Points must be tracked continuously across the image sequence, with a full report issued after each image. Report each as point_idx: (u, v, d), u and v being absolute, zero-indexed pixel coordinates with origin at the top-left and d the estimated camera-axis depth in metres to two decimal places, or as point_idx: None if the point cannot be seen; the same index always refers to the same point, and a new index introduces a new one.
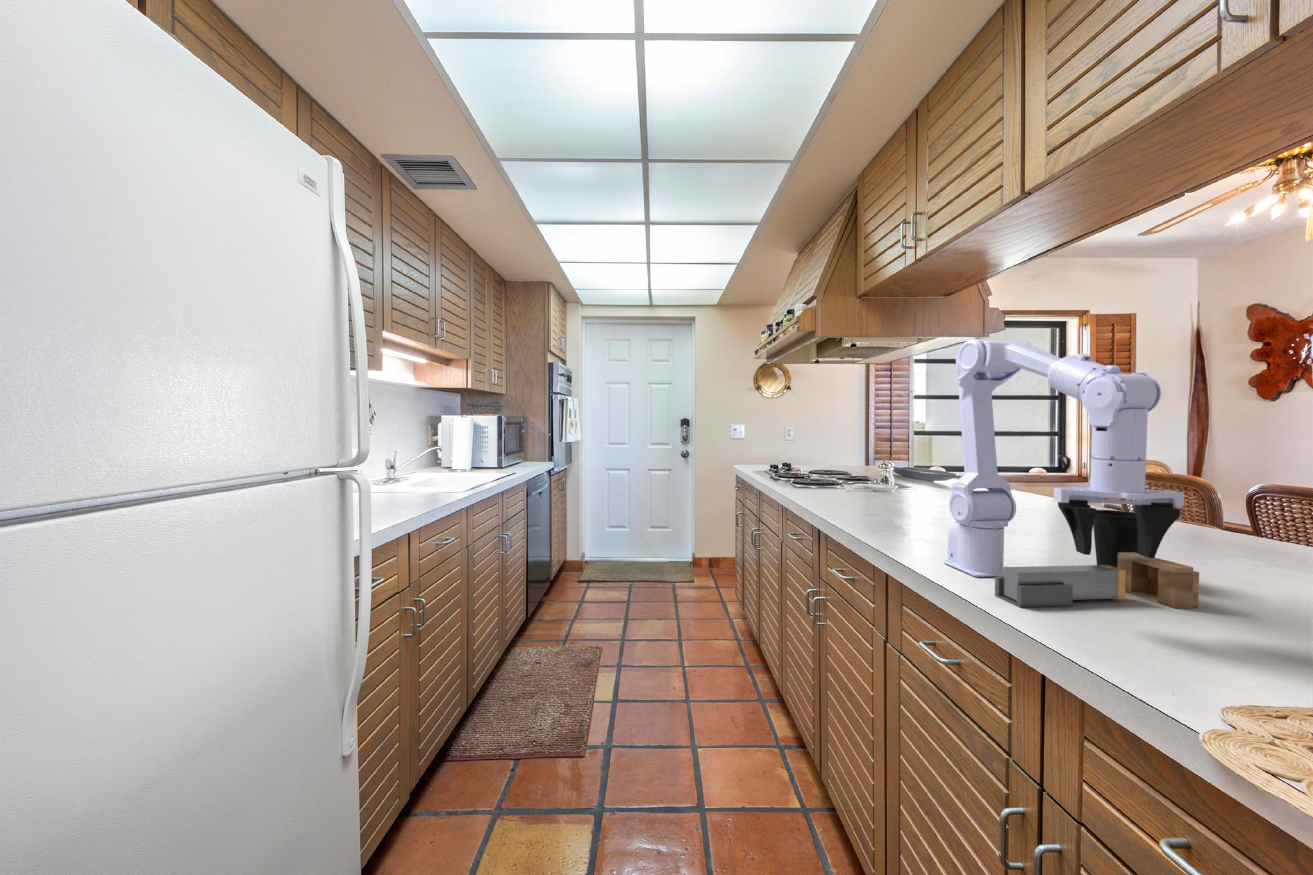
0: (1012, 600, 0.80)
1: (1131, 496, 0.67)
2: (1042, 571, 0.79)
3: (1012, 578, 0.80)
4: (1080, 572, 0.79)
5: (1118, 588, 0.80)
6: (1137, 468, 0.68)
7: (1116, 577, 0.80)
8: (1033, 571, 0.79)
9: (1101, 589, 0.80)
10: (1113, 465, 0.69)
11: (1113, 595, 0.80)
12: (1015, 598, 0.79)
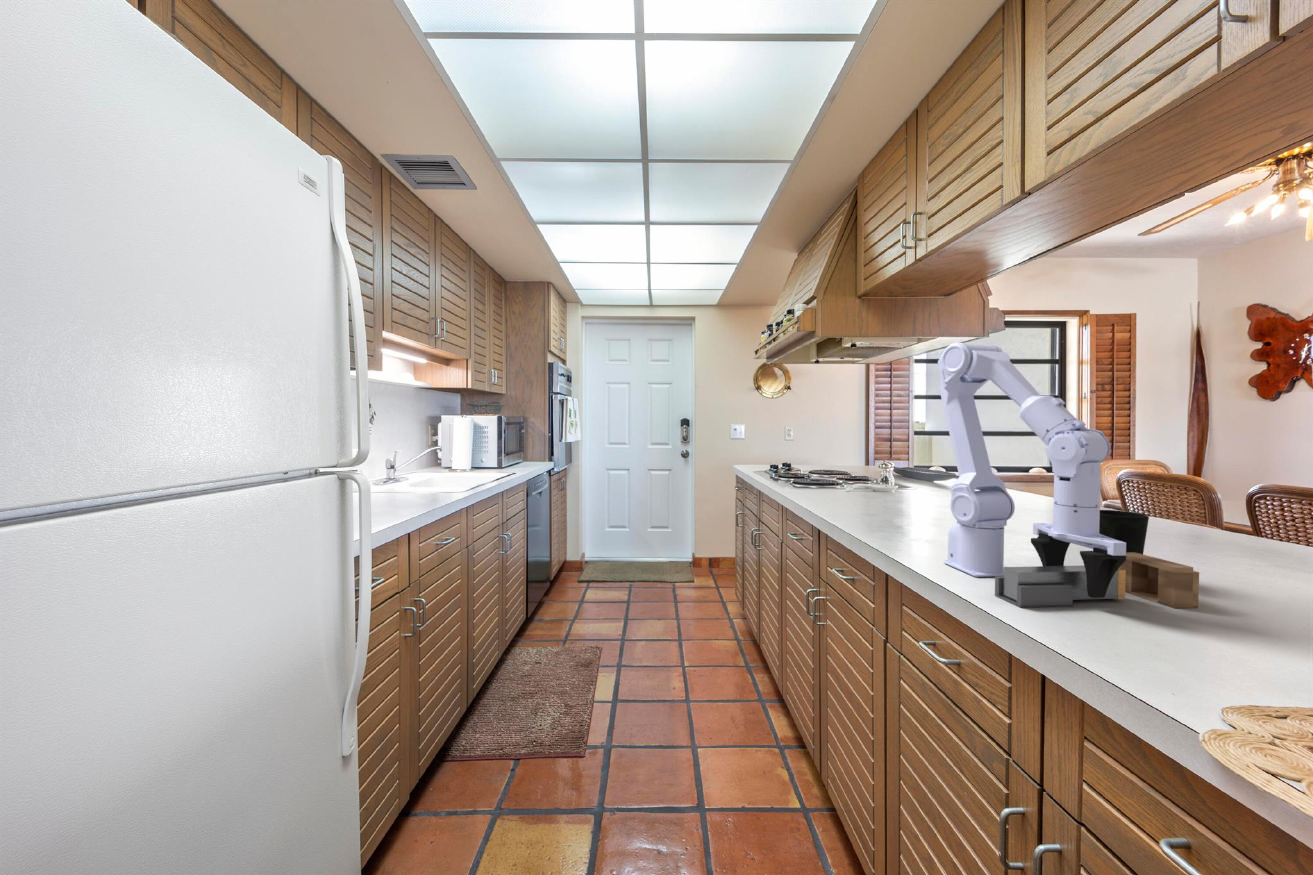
0: (1012, 600, 0.80)
1: (1049, 533, 0.81)
2: (1042, 571, 0.79)
3: (1012, 578, 0.80)
4: (1080, 572, 0.79)
5: (1118, 588, 0.80)
6: (1064, 512, 0.80)
7: (1116, 577, 0.80)
8: (1033, 571, 0.79)
9: None
10: (1053, 507, 0.82)
11: (1113, 595, 0.80)
12: (1015, 598, 0.79)
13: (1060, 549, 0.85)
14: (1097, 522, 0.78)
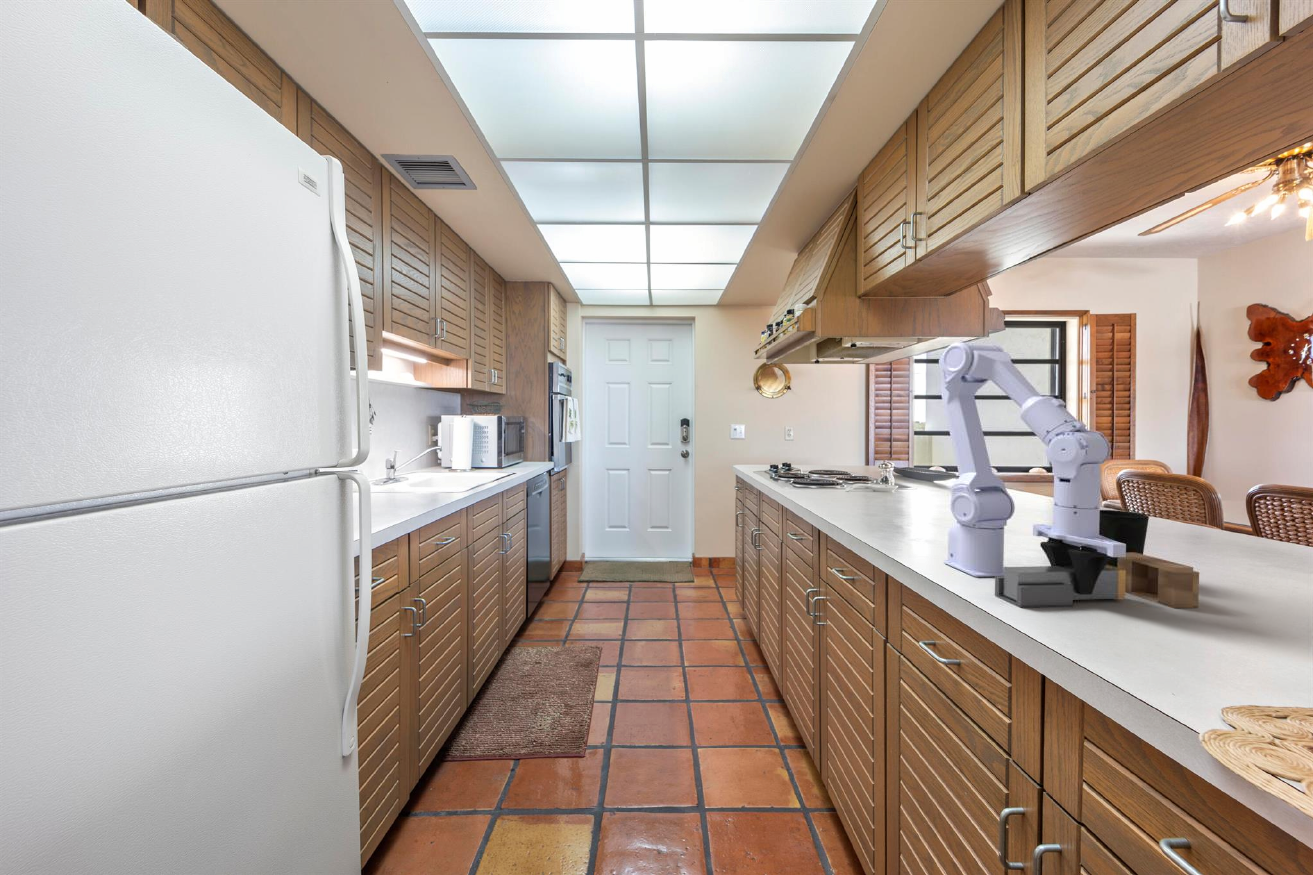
0: (1012, 600, 0.80)
1: (1049, 534, 0.81)
2: (1042, 571, 0.79)
3: (1012, 578, 0.80)
4: None
5: (1118, 588, 0.80)
6: (1064, 513, 0.80)
7: (1116, 577, 0.80)
8: (1033, 571, 0.79)
9: (1101, 589, 0.80)
10: (1053, 508, 0.82)
11: (1113, 595, 0.80)
12: (1015, 598, 0.79)
13: None
14: (1097, 523, 0.78)
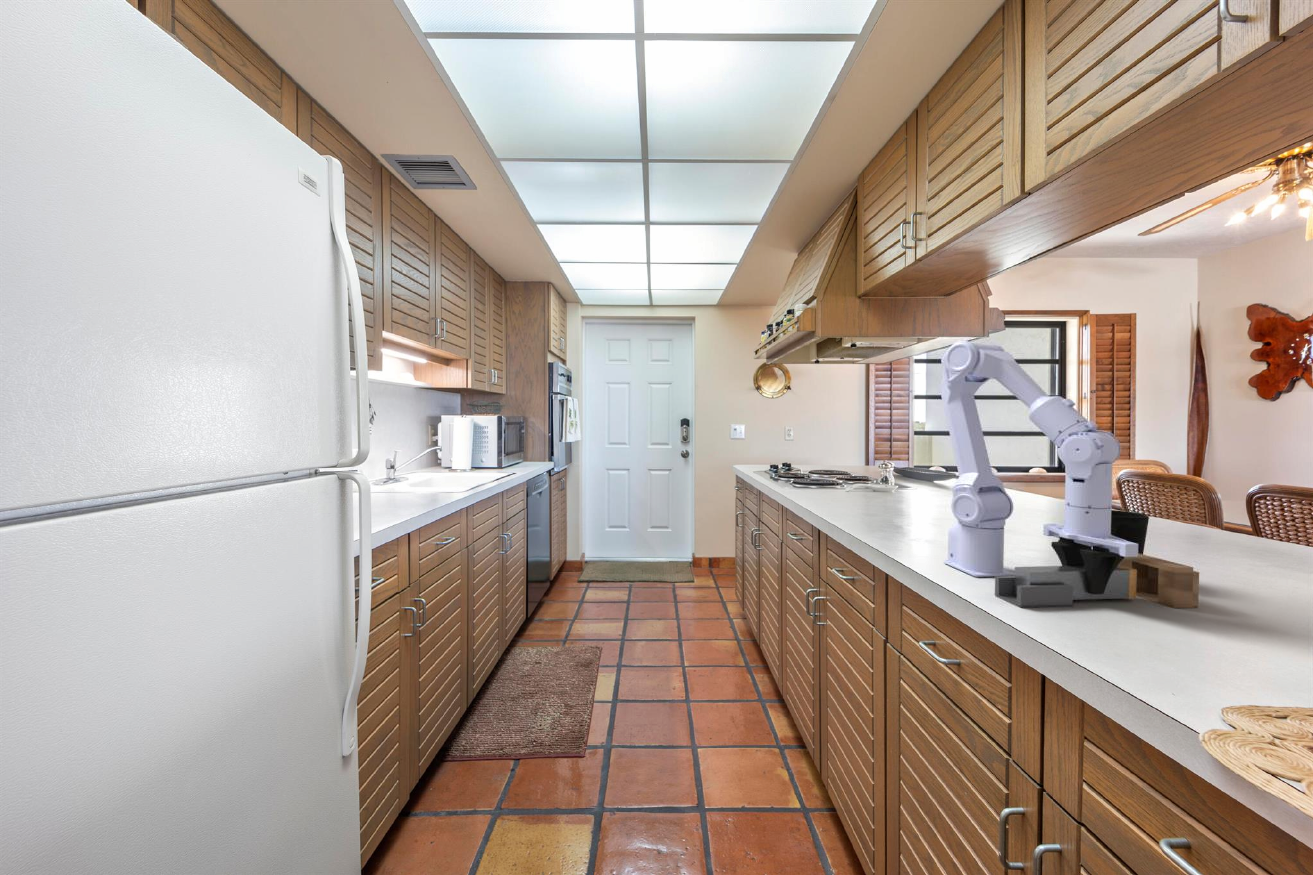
0: (1012, 600, 0.80)
1: (1060, 534, 0.81)
2: (1053, 571, 0.80)
3: (1023, 577, 0.80)
4: None
5: (1129, 588, 0.80)
6: (1075, 513, 0.80)
7: (1127, 577, 0.80)
8: (1044, 571, 0.79)
9: (1112, 589, 0.80)
10: None
11: (1124, 595, 0.80)
12: None
13: None
14: (1109, 523, 0.78)
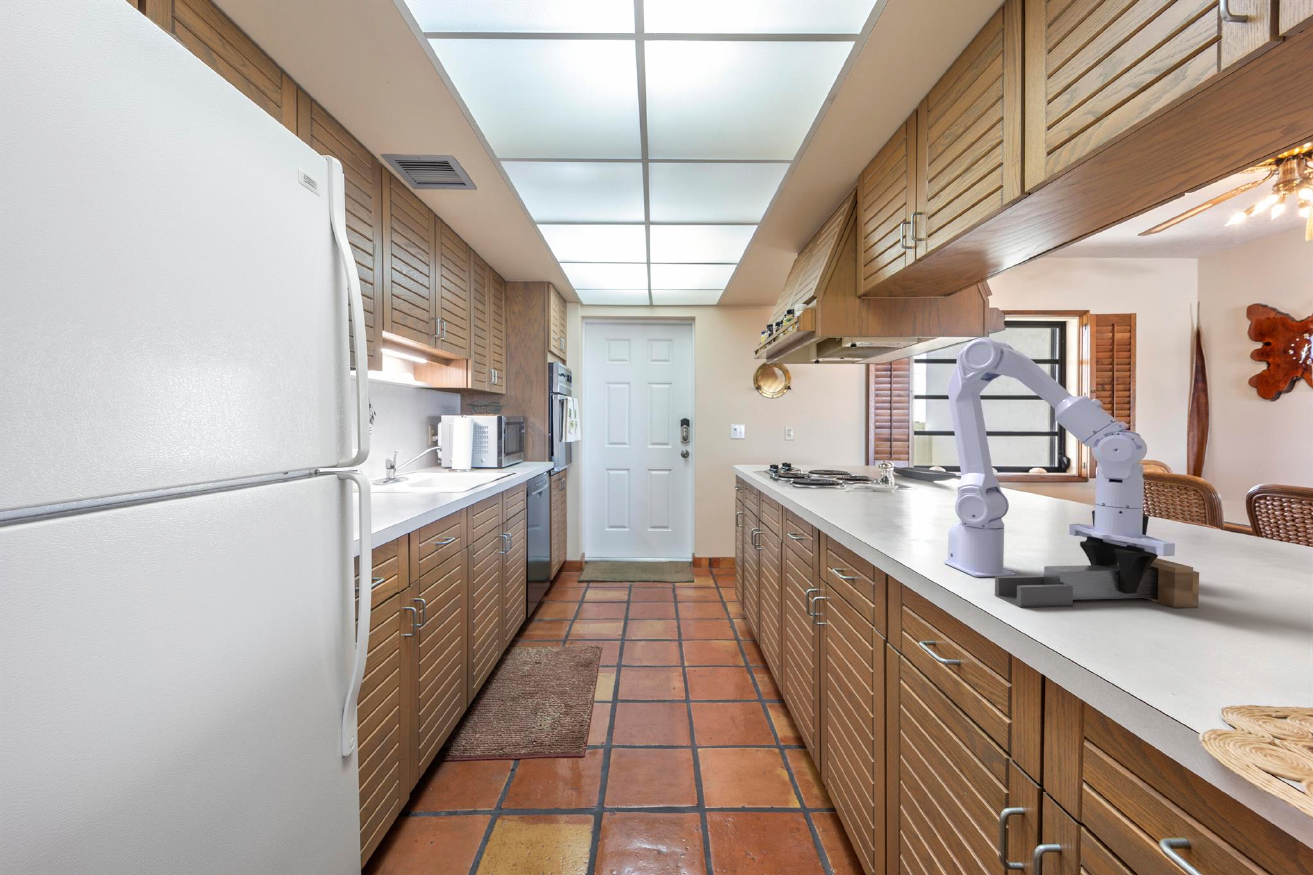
0: (1012, 600, 0.80)
1: (1093, 534, 0.81)
2: (1083, 570, 0.80)
3: (1054, 577, 0.80)
4: None
5: None
6: (1108, 513, 0.80)
7: (1157, 576, 0.80)
8: (1075, 570, 0.80)
9: (1141, 588, 0.80)
10: (1095, 508, 0.83)
11: (1154, 594, 0.80)
12: None
13: (1110, 552, 0.83)
14: (1141, 523, 0.79)
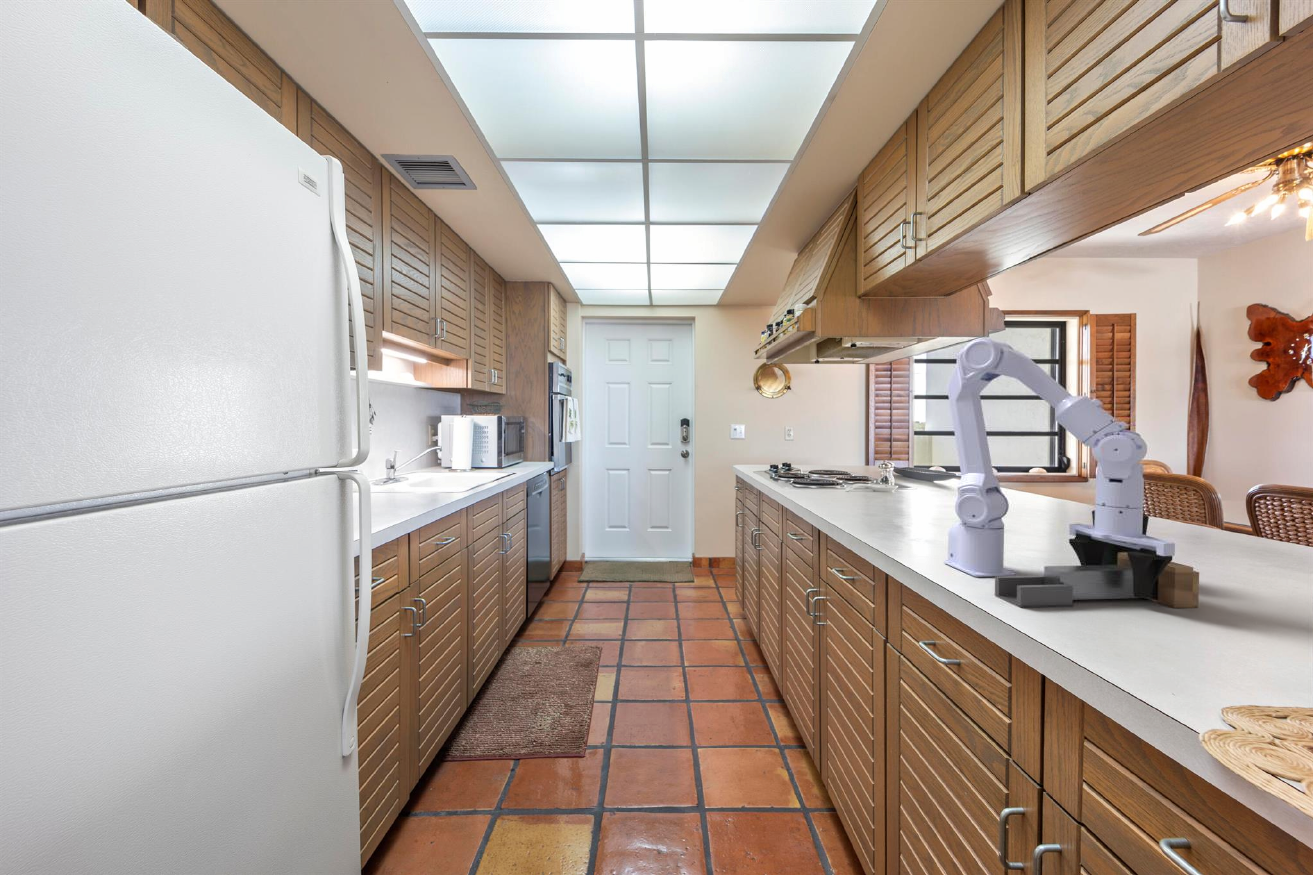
0: (1012, 600, 0.80)
1: (1093, 534, 0.81)
2: (1083, 570, 0.80)
3: (1054, 577, 0.80)
4: (1121, 571, 0.80)
5: None
6: (1109, 513, 0.80)
7: None
8: (1075, 570, 0.80)
9: None
10: (1095, 508, 0.83)
11: (1154, 594, 0.80)
12: None
13: (1098, 549, 0.85)
14: (1141, 523, 0.79)
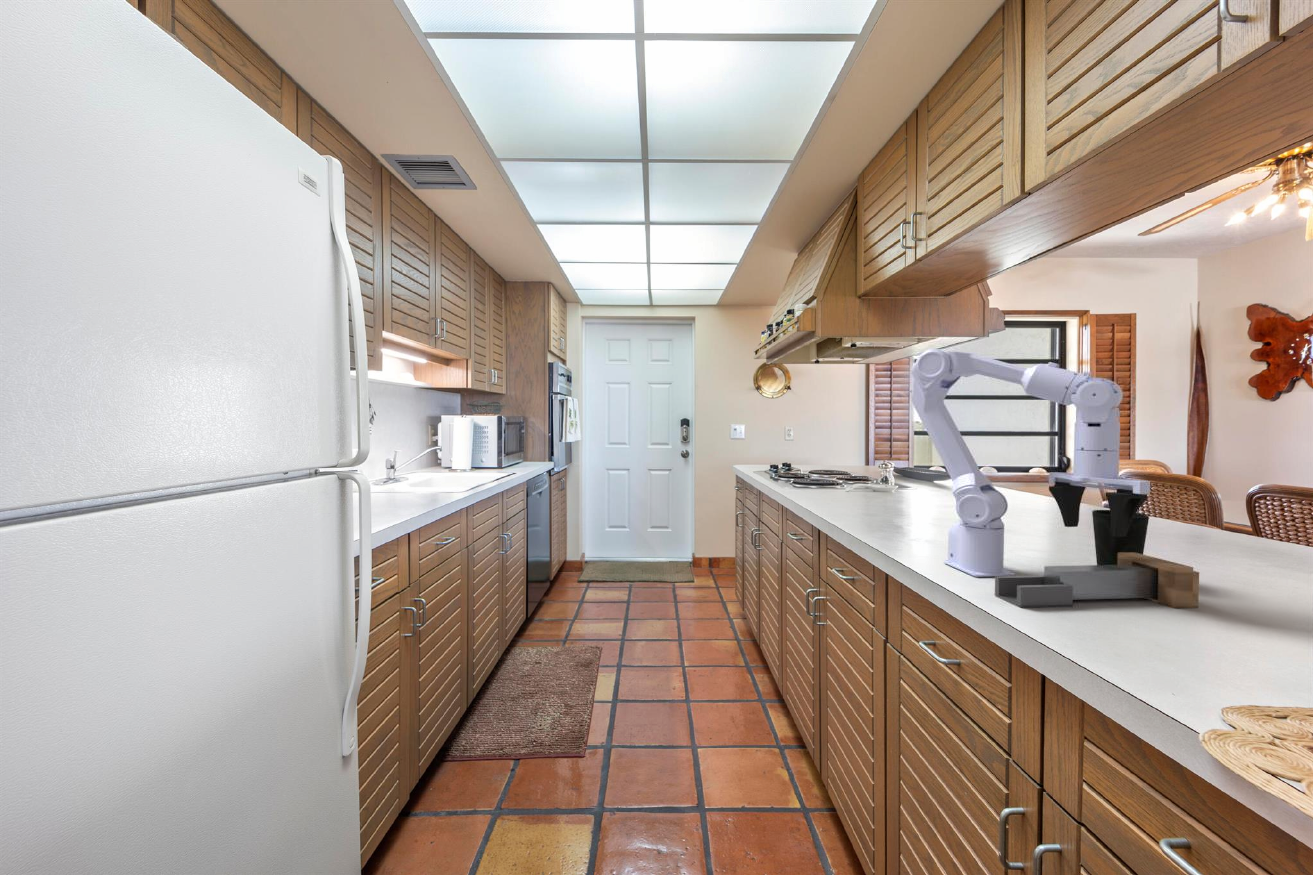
0: (1012, 600, 0.80)
1: (1072, 478, 0.84)
2: (1083, 570, 0.80)
3: (1054, 577, 0.80)
4: (1121, 571, 0.80)
5: None
6: (1087, 457, 0.83)
7: (1157, 576, 0.80)
8: (1075, 570, 0.80)
9: (1142, 588, 0.80)
10: (1074, 454, 0.85)
11: (1154, 594, 0.80)
12: None
13: (1076, 495, 0.88)
14: (1118, 465, 0.81)
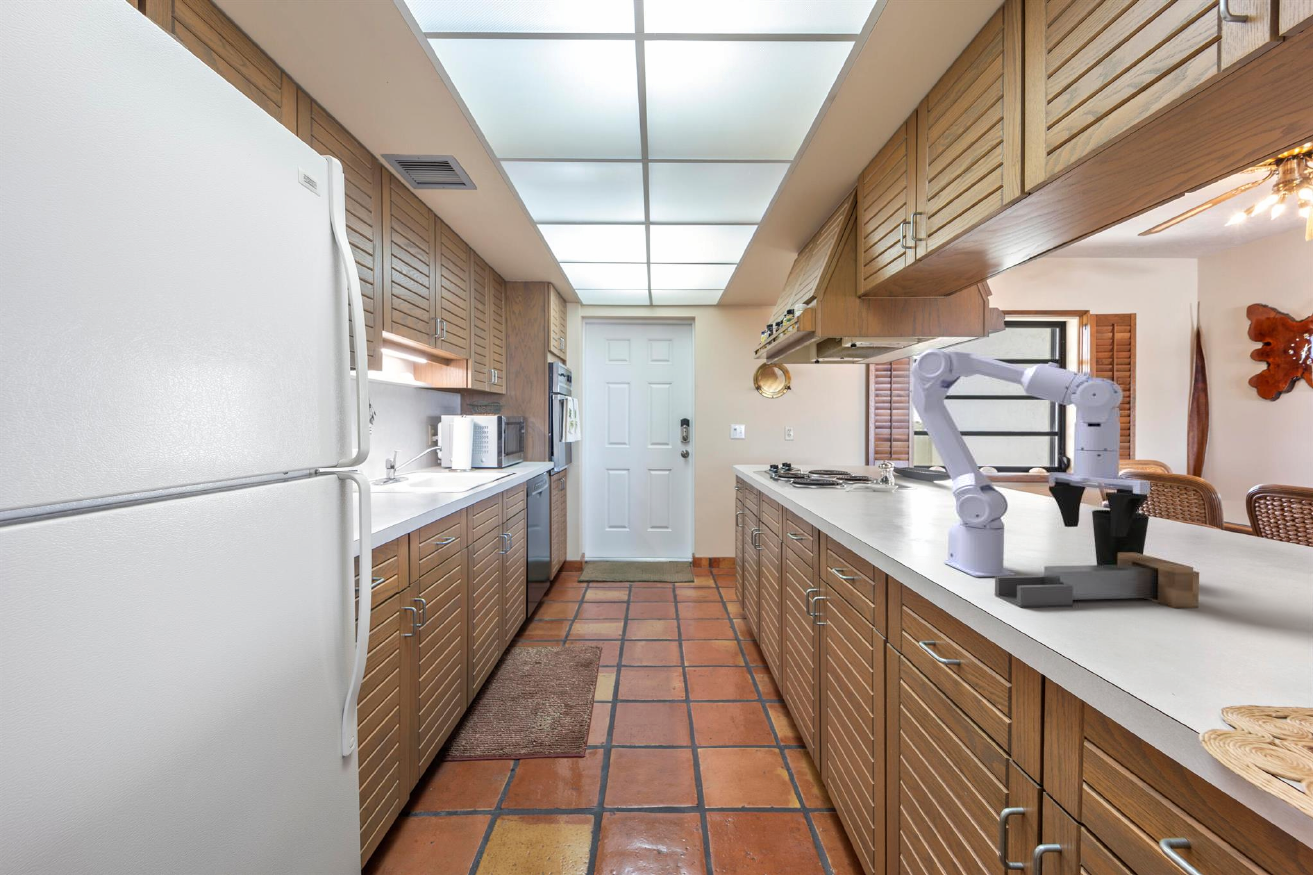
0: (1012, 600, 0.80)
1: (1072, 478, 0.84)
2: (1083, 570, 0.80)
3: (1054, 577, 0.80)
4: (1121, 571, 0.80)
5: None
6: (1087, 457, 0.83)
7: (1157, 576, 0.80)
8: (1075, 570, 0.80)
9: (1142, 588, 0.80)
10: (1074, 454, 0.85)
11: (1154, 594, 0.80)
12: None
13: (1076, 495, 0.88)
14: (1118, 465, 0.81)
